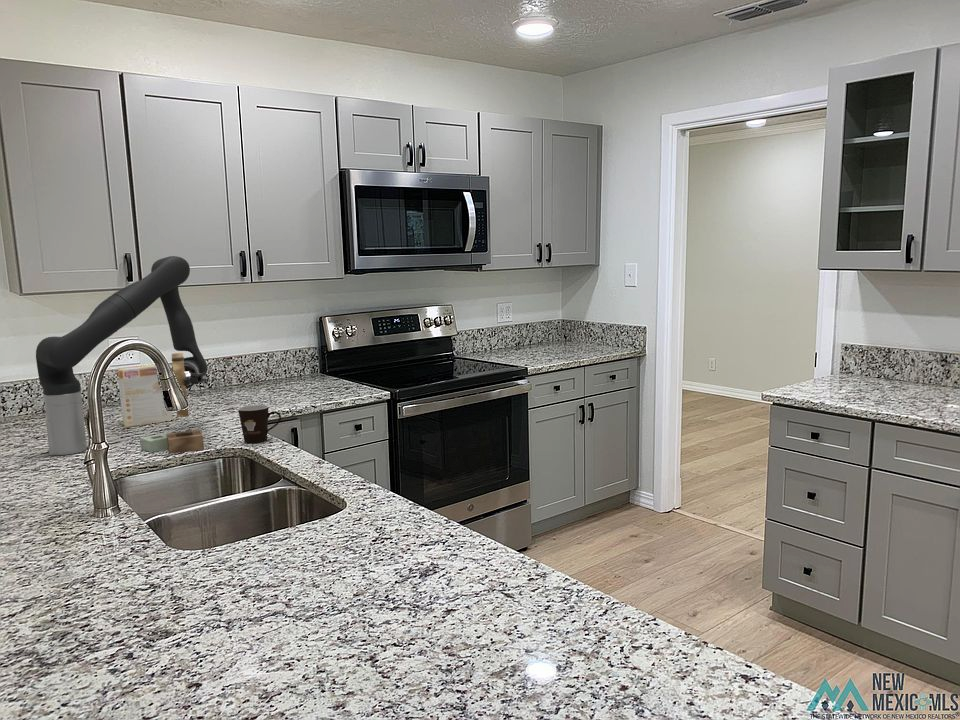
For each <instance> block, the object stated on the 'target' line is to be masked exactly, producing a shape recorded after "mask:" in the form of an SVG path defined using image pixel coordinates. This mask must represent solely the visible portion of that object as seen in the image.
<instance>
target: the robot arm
mask: <svg viewBox="0 0 960 720" xmlns="http://www.w3.org/2000/svg"><path fill="white" fill-rule="evenodd" d="M190 268H191V267H190V264H189V262H188V261H187V260H186V259H185V258H183V257H181V256H178V255H177V256H176V255H175V256H174V255H172V256H171V255H170V256H167V257H163V258H160V259H157V260H156V261H154V262H153V263H152V266H151V269H150V271H151V272H150V273H148V275H146V276H145V277H142V278H141V279H138V280H137V281H135V282H133V283H131V284H129V285H126V286H125V287H122V288H121V289H119V290H117V291H115V292H114V293H113V294H111V295H110V296H108V297H107V298H106V299H104V300H103V301H102V302H100V303H99V304H98V305H97V306H96V307H95V308H94V310H93V311H92V312H91V313H90V315H89V316H88V318H87V319H86V320H85V321H84V322H83V323H82V324H80V325H79V326H78V327H76V328H75V329H73V330H71V331H69V332H68V333H67V334H65V335H62V336H48V337H45V338H43V339H42V340H41V341H39V343H38V344H37V346H36V349H35V361H36V368H37V374H38V380H39V383H40V386H41V388H42V392H43V398H44V406H45V407H44V408H45V417H46V422H45V424H46V432H47V433H46V435H47V443H48V451H49V456H65V455H73V454H77V453H82V452H85V451H87V450H88V446H87V445H88V443H87V442H88V441H87V437H86V427H85V426H86V425H85V418H84V408H83V405H84V404H83V397H82V396H83V395H82V389H81V382H80V381H79V380H78V378H77V377H76V376H75V374H74V373H75V372H74V369H73V368H74V367H75V366H77V365H78V364H79V363H80V362H82V360H84V358H86V357H87V356H88V355H89V354H90V353H91V352H92V351H93V350H94V349H95V348H96V347H97V346H98V345H100V344H101V343H103V342H104V341H105V340H107V339H108V338H109V337H111V336H113V335H114V334H115V333H117V332H118V331H120V330H121V329H122V328H124V327H125V326H126V325H128V324H129V323H131V322H132V321H133V320H134V319H136V318H137V317H138V316H140V315H141V314H142V313H143V312H144V311H146V310H147V309H148V308H149V307H150V306H151V305H153V303H155V302H156V301H157V300H158V299H160V301H161V304H162V307H163V309H164V313H165V316H166V319H167V323H168V327H169V332H170V337H171V341H172V345H173V346H172V347H173V349H174V351H177V352H189V353H190V354H191V355H192V356H187V357H184V370H185V378H184V386H186V390H188V389H191V388H193V386H194V385H199V384H201V383H204V382H207V373H208V370H209V369H208V363H207V361H206V359H205V358H204V356H203V354H202V352H201V351H200V348H199V346H198V343H197V339H196V334H195V330H194V329H195V328H194V326H193V325H194V324H193V322H192V320H191V318H190V315H189V313H188V312H187V310H186V309H185V306H184V305H183V303H182V299H181V296H180V291H179V286H180V285H182V284H184V282H186V281H187V280H188V278H189V276H190V273H191V269H190ZM171 365H172V364H171ZM171 368H172V369H171V371H172V370H173V365H172V366H171ZM158 384H159V385H160V381H159V378H158Z"/></svg>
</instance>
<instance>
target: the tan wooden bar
mask: <svg viewBox="0 0 960 720" xmlns="http://www.w3.org/2000/svg"><path fill="white" fill-rule="evenodd" d="M184 358H185V357H184V353H183V352H176V353H171V365H173V372H174V374H175V377H176V379H177V381H178V383H179V385H180V386H181V388H182V390H183V392H184V395H185V397H186V399H187V400H188V393H187V389H186V386H184V378H185V370H184ZM189 415H190V414H189V407H188V408H187V409H185V410H180V411H177V410H176V417H177V418H185V417H189Z"/></svg>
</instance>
